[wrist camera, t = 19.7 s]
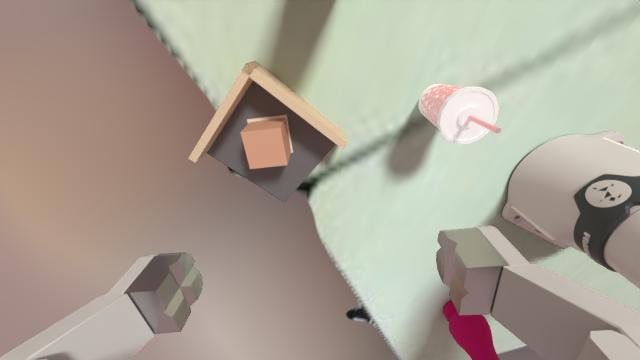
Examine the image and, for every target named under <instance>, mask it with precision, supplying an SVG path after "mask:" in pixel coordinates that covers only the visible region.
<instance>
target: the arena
mask: <svg viewBox="0 0 640 360" xmlns="http://www.w3.org/2000/svg"><path fill="white" fill-rule="evenodd" d="M279 118H285V119H286V125H287V131H288V136H289V142H290V148H291V154H290V158H289V162H288V165H284V166H275V167H265V168H256V169H250V167H249V163H248V160H247V156H246V152H245V148H244V144H243V140H242V137H241V133H240V132H241V131H242V130H243V129H244V128H245V127H246V126H247V125H248V124H249V122H254V121H262V120H271V119H279ZM335 144H337V145H338V146H339V147H341V148H342V149H343V148H344V147H345V146H346V145H347V144H348V142H347V139H346V136H345V132H344V131H343V130H341V129H340V128H339V127H338V126H336V125H335V124H334V123H333V122H331V121H330V120H329V119H328V118H326V117H325V116H324V115H323V114H321V113H320V112H319V111H318V110H316V109H315V108H314V107H313V106H311V105H310V104H309V103H308V102H306V101H305V100H304V99H303V98H301V97H300V96H299V95H298V94H296V93H295V92H294V91H293V90H291V89H290V88H289V87H288V86H286V85H285V84H284V83H282V82H281V81H280V80H279V79H277V78H276V77H275V76H274V75H272V74H271V73H270V72H269V71H267V70H266V69H265V68H264V67H262V66H261V65H260V64H259V63H257V62H256V61H254V62H250V63H246V64H245V66H244V68H243V69H242V71H241V73H240V74H239V76H238V77H237V79H236V81H235V82H234V84H233V86H232V87H231V89H230V91H229V92H228V94H227V96H226V97H225V99H224V101H223V102H222V104H221V106H220V107H219V109H218V110H217V112H216V114H215V115H214V118H213V119H212V120H211V122H210V124H209V125H208V127H207V129H206V131H205V132H204V134H203V135H202V137H201V139H200V140H199V142H198V144H197V145H196V147H195V148H194V150H193V152H192V153H191V155H190V157H189V159H190V160H192V161H193V162H195V163H196V162H197V161H198V160H199V159H200V158H201V157H202V156H203V155H204V154H205V153H206V152H207V153H208V154H209V155H211V156H213V157H214V158H216V159H217V160H219V161H220V162H222V163H223V164H225V165H227V166H228V167H230V168H231V169H233V170H234V171H236V172H238V173H239V174H241V175H242V176H244V177H245V178H247V179H248V180H250V181H252V182H253V183H255V184H257V185H258V186H259V187H261V188H263V189H264V190H266V191H267V192H269V193H270V194H272V195H273V196H275V197H277V198H278V199H280V200H281V201H283V202H286V200H287V199H288V198H289V197H290V196H291V195H292V194H293V192H294V191H295V190H296V189H297V188H298V187H299V185H300V184H301V183H302V182H303V181H304V180H305V178H306V177H307V176H308V175H309V174H310V173H311V171H312V170H313V169H314V168H315V167H316V166H317V164H318V163H319V162H320V161H321V160H322V159H323V157H324V156H325V155H326V154H327V153H328V152H329V150H330V149H331V148H332V147H333V146H334V145H335Z"/></svg>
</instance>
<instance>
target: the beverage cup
mask: <svg viewBox="0 0 640 360" xmlns="http://www.w3.org/2000/svg"><path fill="white" fill-rule="evenodd" d="M418 106H419V109H420V112H421V113H422V114H423V115H424V116H425V117H426V118H427V119H428V120H429V121H430V122H431V123H433V124H434V125H435V126H436V127H437V128H438V129H439V131H440V133H441V134H442V135H443V136H444V137H445V138H446V139H447V140H448V141H451V142H453V143H456V144H469V143H472V142H474V141H477V140H479V139H480V138H482V137H483V136H484V135H485V134H487V133H488V132H489V131H490V130H491V131H493V132H495V133H499V132H500V131H501V129H500V128H498V127H496V126H493V125H494V124H495V122H496V119H497V115H498V112H499V108H498V100H497V99H496V97H495V96H494V95H493V93H492V92H491V91H489V90H487V89H484V88H482V87H459V86H452V85H445V84H434V85H432V86H430V87H428V88H427V89H426V90H425V91H424V92H423V93H422V95H421V96H420V98H419V105H418Z"/></svg>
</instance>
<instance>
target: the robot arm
mask: <svg viewBox="0 0 640 360" xmlns="http://www.w3.org/2000/svg"><path fill="white" fill-rule="evenodd" d="M502 216H503V217H504V218H505V219H506V220H508V221H510V222H512V223H514V224H516V225H518V226H520V227H522V228H524V229H526V230H528V231H529V232H531V233H533V234H535V235H537V236H539V237H541V238H543V239H545V240H547V241H549V242H551V243H553V244H555V245H557V246H559V247H562V248H566V247H572V248H574V249H576V250H579V251H581V252H583V253H585V254H587V255H588V256H589V257H590V258H591V259H593V260H594V261H595V262H597V263H599V264H600V265H602V266H604V267H606V268H607V269H609V270H611V271H614V272H618V273H619V274H621V275H622V276H623V277H625V278H626V279H627V280H629V281H630V282H631V283H633V284H634V285H635V286H637V287H638V288H639V289H640V151H638V150H635V149H633V148H630V147H628V146H626V143H625V140H624V137H623V135H622V134H621V133H618V132H616V131H607V132H603V133H599V134H596V135H580V134H574V135H566V136H562V137H558V138H555V139H553V140H550V141H548V142H546V143H544V144H542V145H541V146H539V147H538V148H536V149H535V150H533V151H532V152H531V153H530V154H528V155H527V156H526V157H525V158H524V159H523V160H522V161H521V163H520V164H519V165H518V166H517V168H516V169H515V171H514V173H513V175H512V177H511V179H510V182H509V186H508V200H507V203H506V204H505V206H504V209H503V211H502ZM438 243H439V244H440V246H441V248H440V249H439V250H438V251H437V255H436V262H437V269H438V272H439V275H440V277H441V279H442V282H443V283H444V284H446V285H447V286H449V287H450V292H449V296H450V298H451V300H452V302H453V304H454V306H455V308H456V310H457V312H458V314H459V315H483V314H491V316H492V317H493V318H494V319H495V320H497V321H498V322H499V323H500V324H502V325H503V326H504V327H505V328H506V329H508V330H509V331H510V332H511V333H513V334H514V335H515V336H516V337H518V338H519V339H520V340H521V341H522V342H524V343H525V344H526V345H527V346H529V347H530V348H531V349H532V350H534V351H535V352H536V353H537V354H539V355H540V356H541V357H542V358H543V359H544V360H640V312H638V311H636V310H634V309H632V308H630V307H628V306H626V305H623V304H621V303H619V302H617V301H615V300H613V299H611V298H609V297H606V296H604V295H602V294H600V293H598V292H596V291H594V290H591V289H589V288H587V287H585V286H583V285H581V284H579V283H577V282H574V281H572V280H570V279H568V278H566V277H564V276H562V275H559V274H557V273H555V272H553V271H551V270H549V269H547V268H544V267H542V266H540V265H538V264H530V263H529V262H528V261H527V260H526V259H525V258H524V257H523V256H522V254H521V253H520V252H519V251H518V250H517V249H516V248H515V247H514V246H513V245H512V244H511V243H510V242H509V241H508V240H507V239H506V238H505V237H504V236H503V234H502V233H501V232H500V231H499V230H498V229H497V228H496V227H494V226H492V225H491V226H481V227H474V228H465V229H454V230H443V231H440V232H439V234H438ZM194 262H195V260H194V258H193V256H192V255H191V253H187V252H183V253H168V254H155V255H145V256H142V257H140V258H139V259H138V260H137V261H136V262H135V264H134V265H133V266H132V267H131V268H130V269H129V270H128V271H127V273H126V274H125V275H124V276H123V277H122V278H121V279H120V280H119V281H118V282H117V283H116V285H115V286H114V287H113V288H112V289H111V290H110V291H109V292H108V294H106V295H104V296H100V297H98V298H97V299H95V300H93V301H92V302H90V303H88V304H87V305H85V306H83V307H82V308H80V309H78V310H77V311H75V312H74V313H72V314H70V315H69V316H67V317H65V318H64V319H62V320H61V321H59V322H57V323H56V324H54V325H52V326H51V327H49V328H47V329H46V330H44V331H43V332H41V333H39V334H38V335H36V336H34V337H33V338H31V339H30V340H28V341H26V342H25V343H23V344H21V345H20V346H18V347H16V348H15V349H13V350H12V351H10V352H8V353H7V354H5V355H3V356H2V357H0V360H130V359H131V358H132V357H133V356H134V355H135V354H136V353H137V352H138V351H139V350H140V349H141V348H142V347H143V346H144V345H145V344H146V343H147V342H149V340H151V339H152V338H153V337H154V334H160V333H170V332H181V330H182V328H183V326H184V325H185V322H186V321H187V319H188V317H189V315H190V313H191V309H190V305H192V304H193V303H194V302H195V301H196V300H197V299H198V297H199V295H200V293H201V290H202V285H203V282H202V275H201V273H200V271H199V270H198V269H196V268H195V267H193V264H194Z"/></svg>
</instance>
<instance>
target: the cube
mask: <svg viewBox="0 0 640 360" xmlns="http://www.w3.org/2000/svg"><path fill="white" fill-rule="evenodd" d="M240 133H241V137H242V140H243V144H244V148H245V152H246V156H247V160H248V163H249V167H250V169H256V168H265V167H275V166H284V165H288V162H289V158H290V154H291V148H290V142H289V136H288V131H287V125H286V119H285V118H279V119H271V120H262V121H254V122H249V124H248V125H247V126H246V127H245V128H244V129H243V130H242V131H241V132H240Z"/></svg>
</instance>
